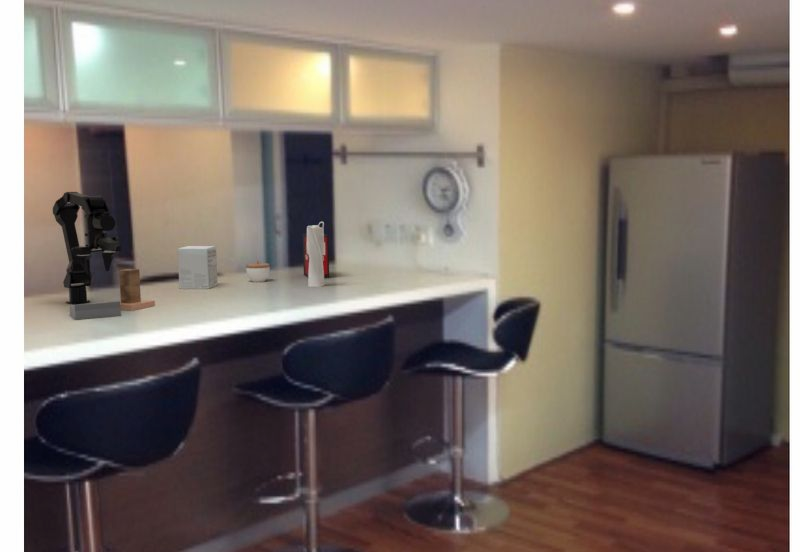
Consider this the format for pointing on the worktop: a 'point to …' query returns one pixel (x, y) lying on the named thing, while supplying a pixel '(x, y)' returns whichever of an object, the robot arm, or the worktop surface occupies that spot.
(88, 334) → the worktop surface
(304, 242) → the cleaning product box
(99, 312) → the slate shelf ledge
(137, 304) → the terracotta tile stand
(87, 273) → the robot arm
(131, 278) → the walnut block
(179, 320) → the worktop surface
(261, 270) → the lidded jar
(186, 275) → the supplement box
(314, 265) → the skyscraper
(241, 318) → the worktop surface
